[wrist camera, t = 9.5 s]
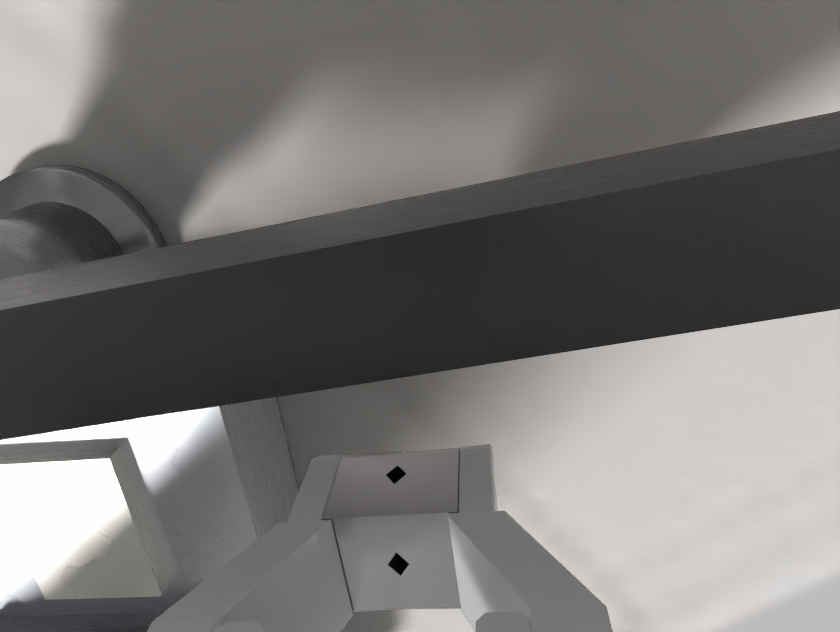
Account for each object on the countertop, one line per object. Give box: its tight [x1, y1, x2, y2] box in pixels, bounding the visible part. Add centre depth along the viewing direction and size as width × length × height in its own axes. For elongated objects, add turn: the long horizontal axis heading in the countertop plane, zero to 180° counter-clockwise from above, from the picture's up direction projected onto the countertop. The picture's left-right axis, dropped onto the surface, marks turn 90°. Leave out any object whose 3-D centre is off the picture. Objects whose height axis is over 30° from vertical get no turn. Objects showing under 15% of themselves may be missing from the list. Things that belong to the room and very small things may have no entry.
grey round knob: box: [0, 165, 165, 280], centre depth 13 cm, size 4×4×4 cm
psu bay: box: [0, 397, 299, 632], centre depth 16 cm, size 13×8×4 cm, turn 7°
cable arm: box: [0, 111, 840, 440], centre depth 8 cm, size 19×4×4 cm, turn 102°
